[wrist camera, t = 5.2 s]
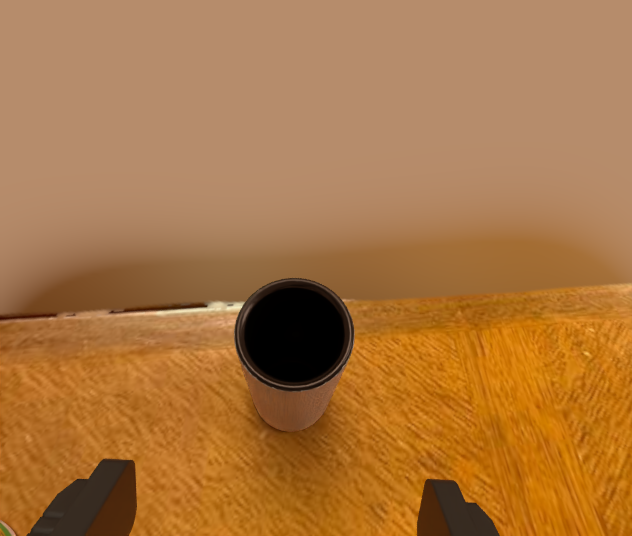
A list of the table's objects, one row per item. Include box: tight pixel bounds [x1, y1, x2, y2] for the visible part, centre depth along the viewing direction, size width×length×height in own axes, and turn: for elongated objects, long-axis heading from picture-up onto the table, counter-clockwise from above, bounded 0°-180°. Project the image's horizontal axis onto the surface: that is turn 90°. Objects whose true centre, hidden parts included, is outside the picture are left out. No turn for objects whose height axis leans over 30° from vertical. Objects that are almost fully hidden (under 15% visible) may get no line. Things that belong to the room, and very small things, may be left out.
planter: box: [234, 278, 354, 432], centre depth 19 cm, size 4×4×10 cm
